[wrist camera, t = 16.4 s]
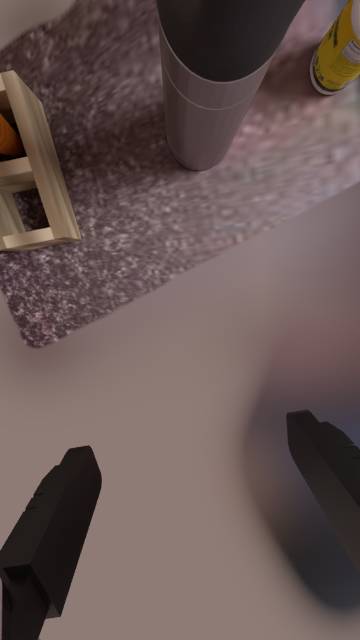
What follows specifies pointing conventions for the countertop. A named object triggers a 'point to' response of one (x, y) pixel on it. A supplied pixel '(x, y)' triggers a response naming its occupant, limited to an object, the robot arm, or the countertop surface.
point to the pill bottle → (338, 52)
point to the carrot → (9, 140)
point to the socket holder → (32, 173)
